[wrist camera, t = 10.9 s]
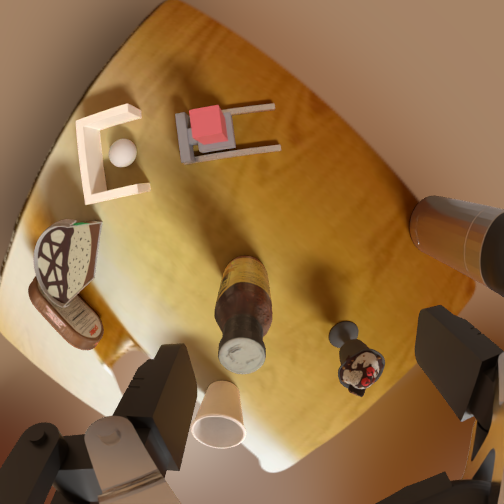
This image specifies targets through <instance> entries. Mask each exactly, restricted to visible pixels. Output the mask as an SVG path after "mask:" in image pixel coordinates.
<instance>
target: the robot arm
mask: <svg viewBox="0 0 504 504" xmlns="http://www.w3.org/2000/svg"><path fill="white" fill-rule="evenodd" d="M410 235H411V238H412V241H413V242H414V244H415V246H416V247H417V248H418V249H419V250H421V251H422V252H424V253H426V254H428V255H430V256H432V257H434V258H435V259H437V260H439V261H441V262H443V263H445V264H447V265H448V266H450V267H452V268H454V269H456V270H458V271H459V272H461V273H463V274H465V275H467V276H468V277H470V278H472V279H474V280H476V281H477V282H479V283H481V284H483V285H485V286H486V287H488V288H490V289H491V290H493V291H495V292H496V293H498V294H500V295H501V296H502V297H504V209H500V208H495V207H491V206H486V205H481V204H476V203H471V202H466V201H461V200H456V199H451V198H445V197H439V196H429V197H426V198H424V199H423V200H421V201H420V202H419V203H418V204H417V206H416V207H415V209H414V211H413V213H412V215H411V220H410ZM415 356H416V360H417V362H418V364H419V366H420V367H421V368H422V369H423V371H424V372H425V373H426V375H427V376H428V377H429V379H430V380H431V381H432V383H433V384H434V385H435V386H436V388H437V389H438V390H439V392H440V393H441V395H442V396H443V397H444V399H445V400H446V401H447V403H448V404H449V406H450V407H451V408H452V410H453V411H454V412H455V414H456V415H457V417H458V418H459V419H460V421H464V420H466V419H468V418H470V417H473V416H474V417H475V418H476V421H475V423H474V425H473V430H472V437H471V443H470V448H469V453H468V458H467V463H466V467H465V471H464V474H463V476H462V478H461V480H453V481H450V480H449V478H448V476H447V475H446V472H442V473H440V474H438V475H435V476H433V477H430V478H428V479H425V480H423V481H420V482H418V483H415V484H412V485H410V486H406V487H404V488H403V489H401V490H400V491H398V492H396V493H394V494H393V495H391V496H389V497H387V498H385V499H383V500H382V501H380V502H378V503H376V504H504V351H503V350H502V349H500V348H499V347H498V346H497V345H496V344H494V343H493V342H492V341H491V340H490V339H489V338H487V337H486V336H485V335H484V334H481V332H480V331H479V330H478V329H476V328H474V326H473V325H472V324H470V323H469V322H468V321H467V320H465V319H462V318H460V317H458V316H455V315H453V314H452V313H451V312H449V311H448V310H447V309H446V308H444V307H443V306H442V305H438V306H434V307H430V308H425V309H422V310H421V311H420V313H419V318H418V327H417V335H416V343H415ZM128 387H129V388H127V389H126V391H125V393H124V395H123V397H122V399H121V401H120V402H119V404H118V406H117V408H116V410H115V412H114V414H113V416H107V417H104V418H101V419H99V420H97V421H95V422H94V423H92V424H91V425H90V426H89V427H88V429H87V431H86V432H85V434H83V435H72V436H62V434H61V433H60V431H59V430H58V428H57V427H56V426H55V425H53V424H51V423H38V424H35V425H33V426H31V427H29V428H28V429H27V430H26V431H25V432H24V433H23V434H22V435H21V437H20V438H19V440H18V442H17V443H16V445H15V446H14V448H13V449H12V451H11V453H10V454H9V456H8V457H7V459H6V460H5V462H4V464H3V465H2V467H1V469H0V504H44V502H45V500H46V497H47V495H48V493H49V490H50V489H51V486H52V485H53V486H54V487H55V489H56V492H55V494H54V497H53V499H52V501H51V504H181V502H180V501H179V500H178V498H177V497H176V495H175V494H174V492H173V491H172V489H171V488H170V487H169V485H168V484H167V482H166V481H165V479H164V478H165V474H166V471H167V470H173V471H180V467H181V463H182V458H183V453H184V449H185V445H186V441H187V437H188V432H189V428H190V424H191V420H192V415H193V411H194V407H195V403H196V399H197V384H196V379H195V376H194V372H193V369H192V365H191V362H190V358H189V355H188V351H187V348H186V346H185V344H165V345H161V347H160V348H159V350H158V352H157V354H156V356H155V358H154V359H149V360H147V361H146V362H145V363H144V364H143V365H141V366H140V367H139V368H138V369H137V371H136V373H135V375H134V377H133V380H131V382H130V384H129V386H128Z"/></svg>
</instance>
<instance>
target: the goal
mask: <svg viewBox="0 0 504 504" xmlns="http://www.w3.org/2000/svg"><path fill="white" fill-rule="evenodd" d="M140 118H142V116H141V110H139V109H137V108H136V107H134V106H132V105H130V104H128V103H127V104H124V105H120V106H117V107H114V108H111V109H108V110H105V111H102V112H99V113H96V114H93V115H90V116H87V117H84V118H82V119H79V120H76V132H77V144H78V154H79V163H80V171H81V179H82V186H83V192H84V199H85V205H89V204H93V203H98V202H102V201H106V200H111V199H115V198H120V197H124V196H129V195H134V194H139V193H144V192H149V191H151V187H150V183H141V184H134V185H130V186H125V187H121V188H117V189H112V190H108V191H107V186H106V179H105V172H104V165H103V156H102V148H101V138H100V130H102V129H105V128H108V127H112V126H115V125H118V124H122V123H125V122H129V121H132V120H136V119H140Z"/></svg>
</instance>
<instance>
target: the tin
mask: <svg viewBox="0 0 504 504" xmlns="http://www.w3.org/2000/svg"><path fill="white" fill-rule="evenodd" d="M28 293H29V297H30V300H31V302H32V304H33V305H34V306H35V308H36V309H37V310H38V311H39V312H40V313H41V314H42V316H43V317H44V318H45V319H46V320H47V321H48V322H49V323H50V324H51V325H52V327H53V328H54V329H55V330H56V331H57V332H58V333H59V334H60V335H61V336H62V337H63V338H64V339H65V340H66V341H67V342H68V343H69V344H71V345H72V346H74V347H76V348H78V349H81V350H91V349H93V348H95V347H96V345H97V343H98V342H99V341H100V340H101V338H102V336H103V331H104V329H103V325H102V322H101V320H100V318H99V317H98V315H97V314H96V313H95V312H94V311H93V310H92V309H91V308H90V307H89V306H88V305H87V304H86V302H85V301H84V300H83V299H82V298H81V297H80V296H79V295H78V294H77V295H76V296H75V297H74V298H73V299H72V300H71V301H70V302H68V304H70V305H69V306H67V307H63V308H62V307H60V306H58V305H57V304H55V303H54V302H53V301H52V300H51V299H50V298H49V297H48V296H47V295H46V294H45V293H44V291H43V290H42V288H41V286H40V284H39V282H38V280H37V277H36V276H35V278H34V279H33V281H32V283H31V284H30V286H29V289H28Z"/></svg>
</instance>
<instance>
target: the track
mask: <svg viewBox="0 0 504 504" xmlns="http://www.w3.org/2000/svg"><path fill="white" fill-rule="evenodd" d="M271 110H275V105H274V103H273V104H263V105H255V106H247V107H240V108H233V109H226V110H221V111H222V113H225V112H230V113H231V116H232V115H239V114H246V113H254V112H262V111H271ZM189 120H190V116H189ZM190 123H191V122H190ZM276 151H281V146H280V145H272V146H264V147H256V148H248V149H241V150H234V151H227V152H221V153H214V154H208V155H202V156H197V157H194V158H195V162H191V163H184V165H188V164H193V163H199V162H205V161H211V160H217V159H223V158H230V157H237V156H244V155H251V154H259V153H267V152H276Z"/></svg>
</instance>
